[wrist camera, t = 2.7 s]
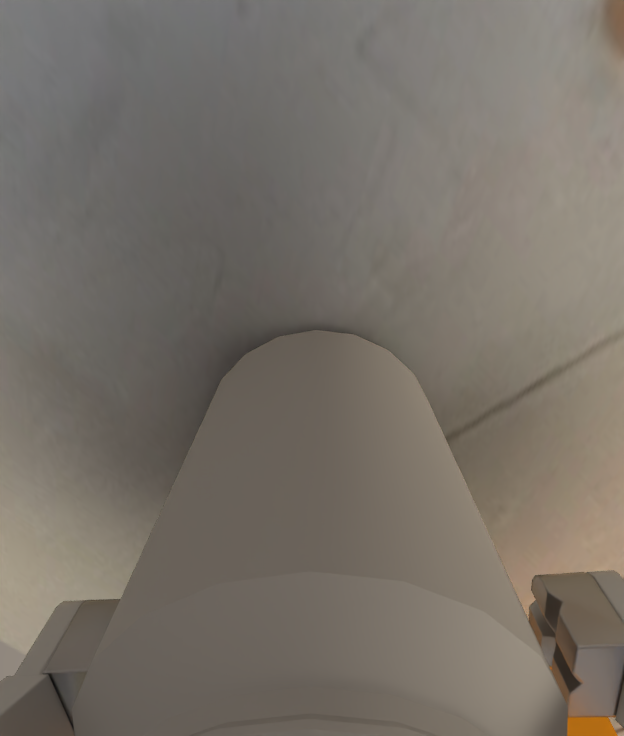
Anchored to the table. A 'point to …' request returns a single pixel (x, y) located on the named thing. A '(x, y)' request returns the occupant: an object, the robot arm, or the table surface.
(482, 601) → the can
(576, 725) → the orange juice
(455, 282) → the table surface
